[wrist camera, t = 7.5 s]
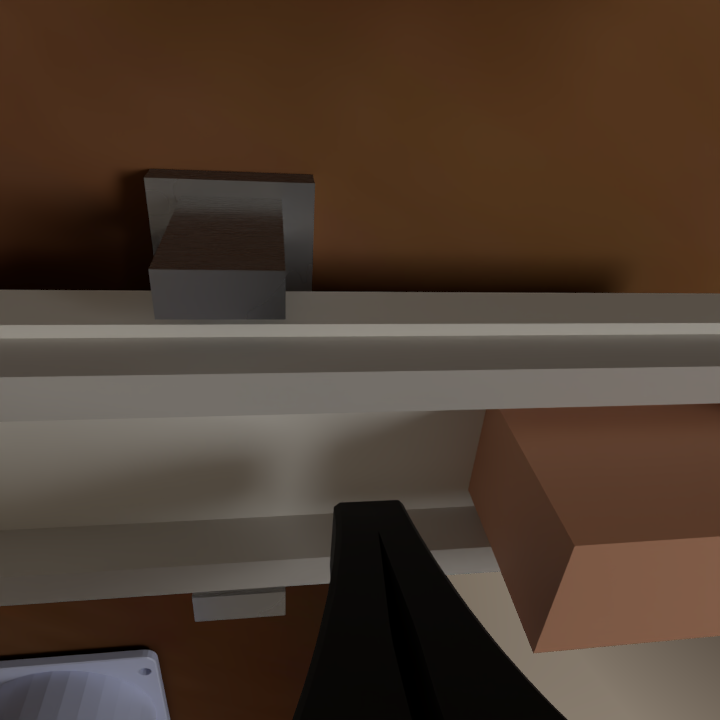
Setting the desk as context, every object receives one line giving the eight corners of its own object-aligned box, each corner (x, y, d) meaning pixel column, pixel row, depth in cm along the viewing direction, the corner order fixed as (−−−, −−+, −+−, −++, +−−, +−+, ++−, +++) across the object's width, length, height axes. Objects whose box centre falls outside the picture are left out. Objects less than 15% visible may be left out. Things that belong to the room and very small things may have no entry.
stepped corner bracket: (-372, 517, 18) (-581, 689, 13) (-692, 138, 12) (-1251, 223, 8) (580, 477, 22) (656, 595, 18) (686, 188, 16) (836, 259, 12)
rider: (468, 489, 16) (533, 653, 12) (489, 392, 14) (575, 545, 10) (671, 479, 16) (795, 628, 13) (715, 386, 15) (873, 526, 11)
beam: (-539, 554, 14) (-881, 793, 10) (-859, 269, 10) (-1648, 465, 6) (672, 493, 19) (786, 636, 15) (774, 283, 15) (971, 397, 11)
